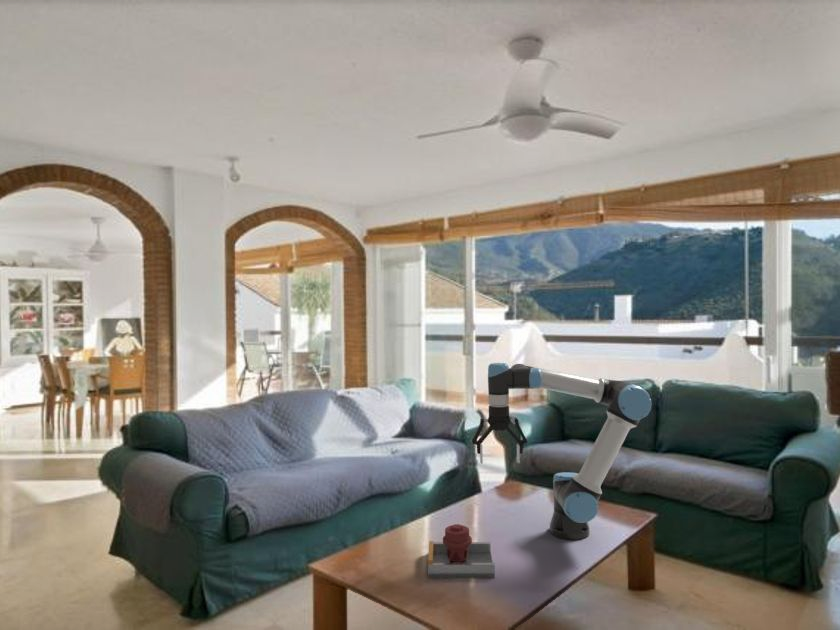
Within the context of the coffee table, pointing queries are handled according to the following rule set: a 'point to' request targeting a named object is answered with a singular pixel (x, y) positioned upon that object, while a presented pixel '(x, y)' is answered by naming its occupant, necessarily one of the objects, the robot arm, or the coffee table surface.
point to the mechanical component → (457, 542)
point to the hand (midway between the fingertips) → (499, 462)
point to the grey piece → (473, 567)
